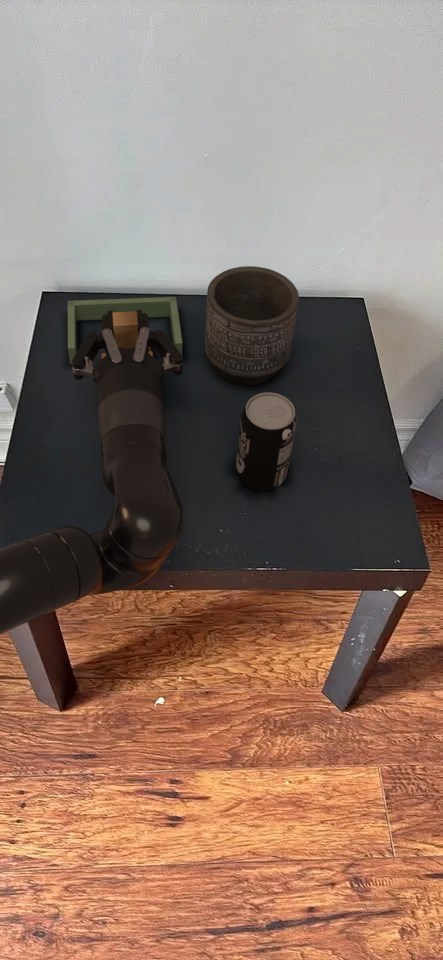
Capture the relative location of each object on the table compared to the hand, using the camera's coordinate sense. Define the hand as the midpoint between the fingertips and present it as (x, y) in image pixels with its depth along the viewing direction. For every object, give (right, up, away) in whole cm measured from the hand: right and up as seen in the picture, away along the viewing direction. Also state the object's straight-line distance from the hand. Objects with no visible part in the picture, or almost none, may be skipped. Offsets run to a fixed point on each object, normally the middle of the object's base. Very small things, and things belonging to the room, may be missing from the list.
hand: (124, 315), depth 95 cm
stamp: (0, -8, +9) cm, 12 cm away
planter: (+16, -4, +13) cm, 21 cm away
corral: (-2, 0, +15) cm, 15 cm away
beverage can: (+17, -20, +1) cm, 27 cm away
